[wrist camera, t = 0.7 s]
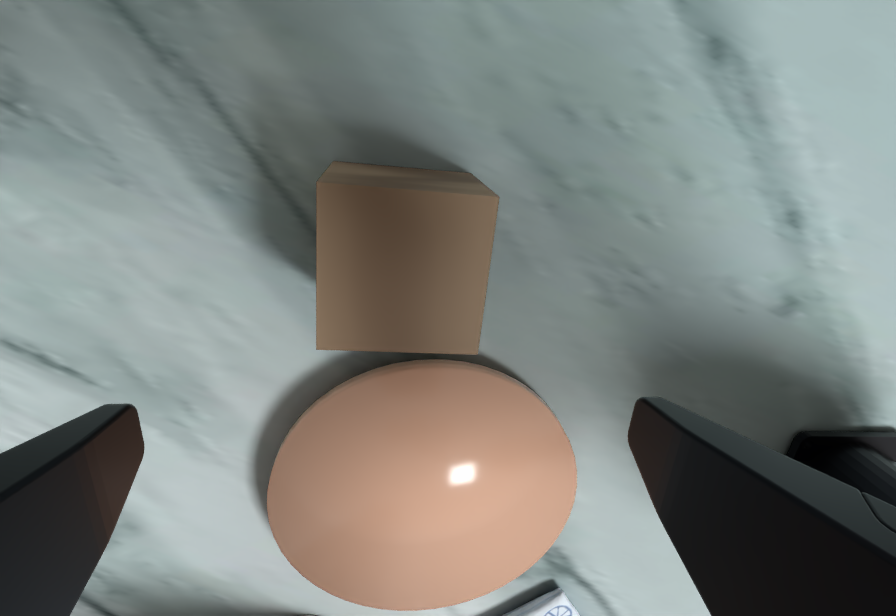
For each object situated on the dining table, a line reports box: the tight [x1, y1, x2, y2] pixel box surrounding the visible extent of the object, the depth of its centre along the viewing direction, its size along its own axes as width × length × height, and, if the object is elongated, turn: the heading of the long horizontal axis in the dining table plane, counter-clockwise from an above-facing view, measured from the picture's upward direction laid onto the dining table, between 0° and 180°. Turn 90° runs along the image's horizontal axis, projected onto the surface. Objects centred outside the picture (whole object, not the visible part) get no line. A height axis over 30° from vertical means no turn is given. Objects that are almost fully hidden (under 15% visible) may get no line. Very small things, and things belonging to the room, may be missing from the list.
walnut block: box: [316, 161, 499, 355], centre depth 17 cm, size 5×5×5 cm
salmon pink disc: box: [267, 359, 577, 611], centre depth 23 cm, size 14×14×1 cm
